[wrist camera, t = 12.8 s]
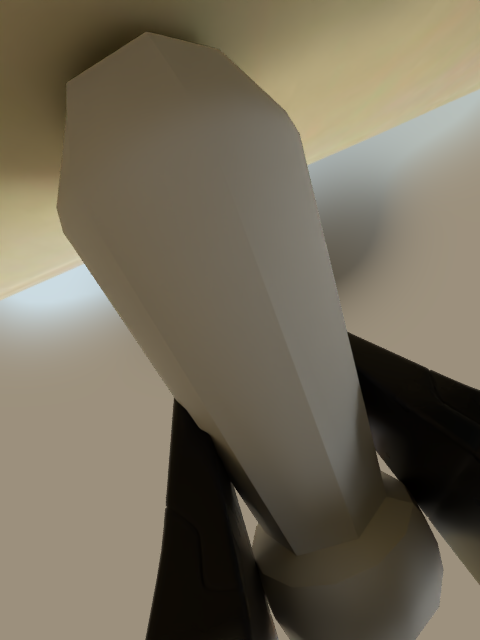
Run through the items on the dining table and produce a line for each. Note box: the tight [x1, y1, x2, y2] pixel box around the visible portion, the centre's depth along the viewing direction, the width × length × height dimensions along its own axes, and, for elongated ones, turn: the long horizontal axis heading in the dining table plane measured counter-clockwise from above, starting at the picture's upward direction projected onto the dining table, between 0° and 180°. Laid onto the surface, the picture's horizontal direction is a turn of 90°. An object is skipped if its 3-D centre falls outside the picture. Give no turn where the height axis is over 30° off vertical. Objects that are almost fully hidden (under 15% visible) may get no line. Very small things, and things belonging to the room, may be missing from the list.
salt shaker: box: [57, 31, 443, 640], centre depth 9 cm, size 6×6×13 cm
